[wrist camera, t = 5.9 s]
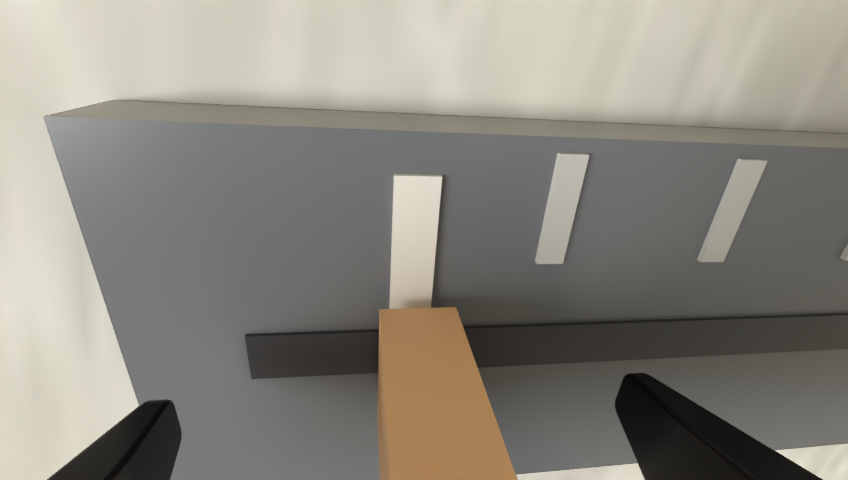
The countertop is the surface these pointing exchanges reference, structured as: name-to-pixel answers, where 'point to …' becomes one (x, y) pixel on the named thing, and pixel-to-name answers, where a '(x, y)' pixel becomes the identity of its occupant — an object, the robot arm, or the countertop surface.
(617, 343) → the console
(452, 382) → the fader tab
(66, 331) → the countertop surface
